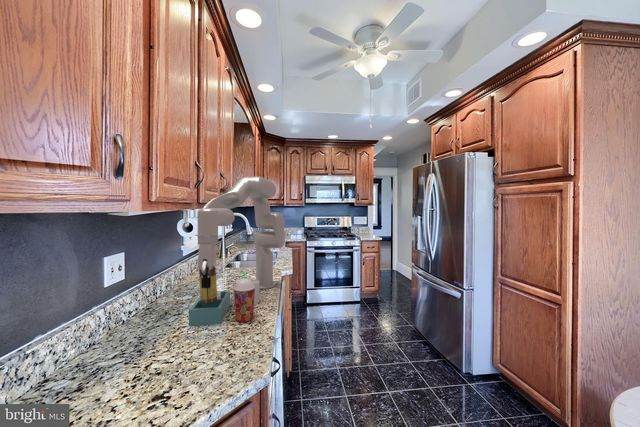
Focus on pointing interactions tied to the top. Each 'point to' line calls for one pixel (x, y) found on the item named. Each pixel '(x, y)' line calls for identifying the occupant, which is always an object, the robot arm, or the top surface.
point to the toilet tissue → (257, 291)
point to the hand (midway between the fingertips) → (208, 284)
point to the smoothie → (244, 299)
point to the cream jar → (218, 295)
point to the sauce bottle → (209, 293)
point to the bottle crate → (209, 311)
